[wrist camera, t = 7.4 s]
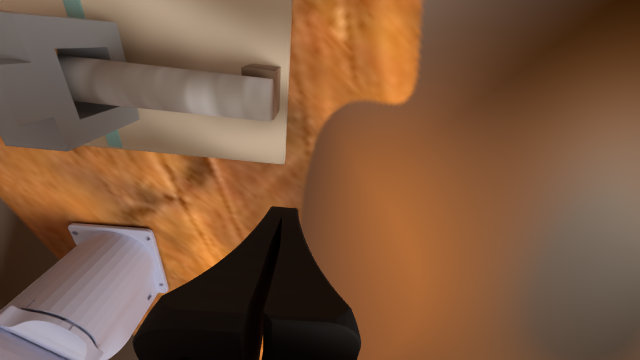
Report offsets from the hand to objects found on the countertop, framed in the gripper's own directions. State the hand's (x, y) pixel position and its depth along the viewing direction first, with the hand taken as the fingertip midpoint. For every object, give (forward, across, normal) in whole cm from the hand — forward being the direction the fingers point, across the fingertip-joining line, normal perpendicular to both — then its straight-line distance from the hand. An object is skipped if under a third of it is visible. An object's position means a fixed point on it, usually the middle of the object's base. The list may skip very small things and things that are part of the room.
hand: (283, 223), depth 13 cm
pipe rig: (+10, +10, -5) cm, 15 cm away
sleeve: (+8, +13, -5) cm, 16 cm away
